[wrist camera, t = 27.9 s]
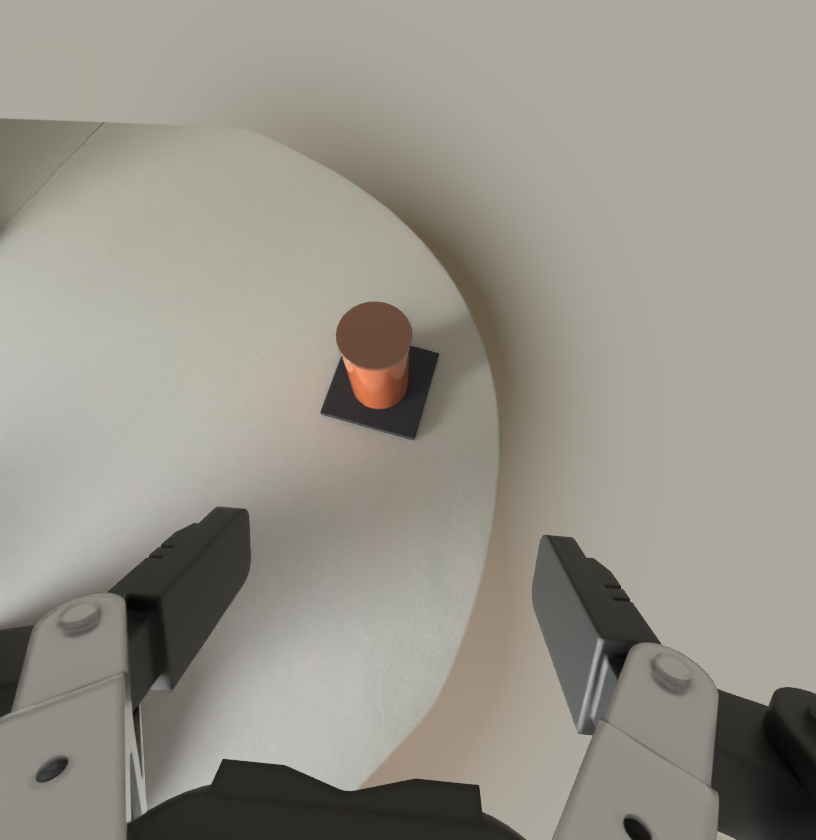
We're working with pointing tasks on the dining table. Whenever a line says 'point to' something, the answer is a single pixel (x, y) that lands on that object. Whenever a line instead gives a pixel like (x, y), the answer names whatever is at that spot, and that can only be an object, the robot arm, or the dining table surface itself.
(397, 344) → the canister
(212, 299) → the dining table surface
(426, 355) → the mat
